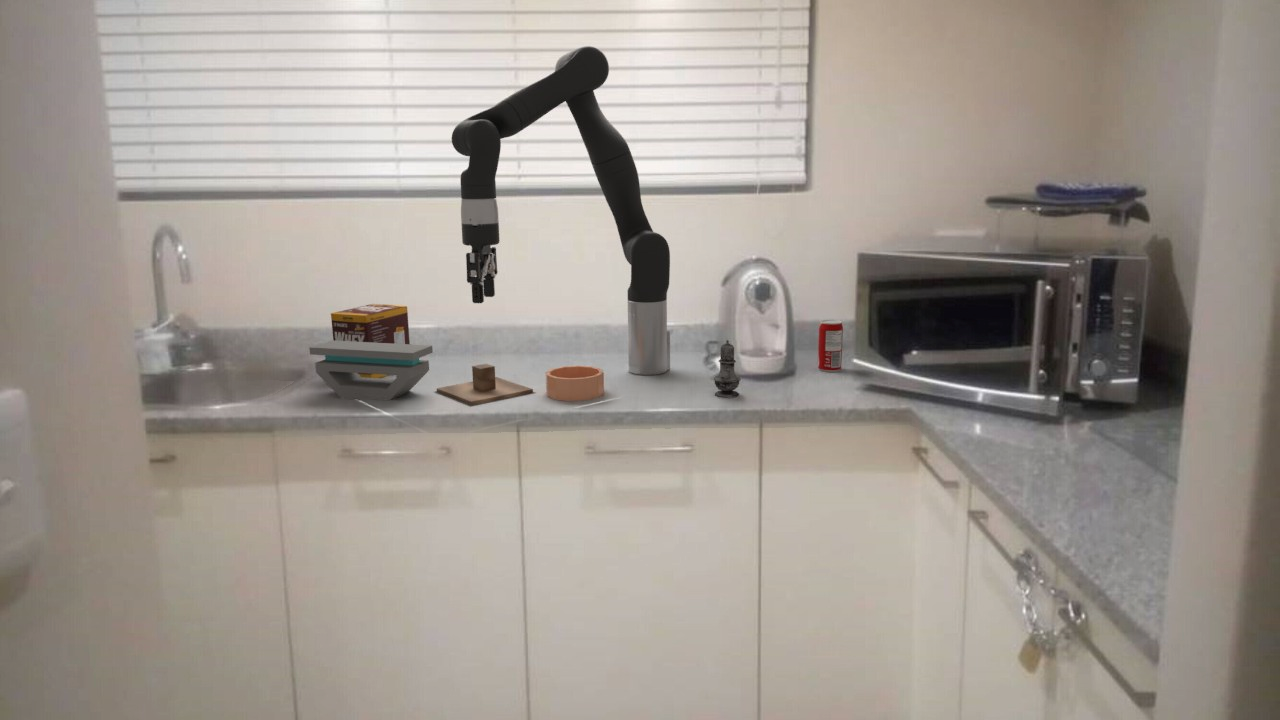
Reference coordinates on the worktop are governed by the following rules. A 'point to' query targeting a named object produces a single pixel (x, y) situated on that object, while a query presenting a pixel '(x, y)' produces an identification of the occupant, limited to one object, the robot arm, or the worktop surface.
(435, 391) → the charcoal mat
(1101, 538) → the worktop surface
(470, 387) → the walnut lid
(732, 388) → the salt shaker
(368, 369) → the sharpening stone
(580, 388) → the terracotta bowl
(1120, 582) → the worktop surface
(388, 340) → the supplement box
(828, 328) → the soda can
